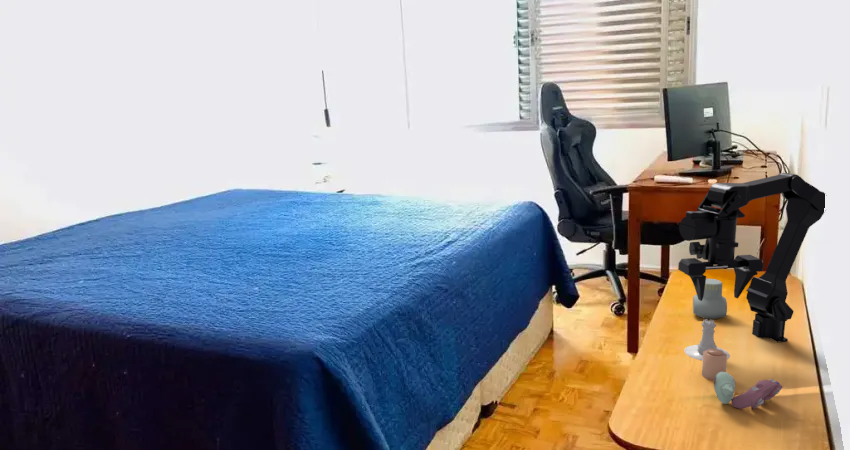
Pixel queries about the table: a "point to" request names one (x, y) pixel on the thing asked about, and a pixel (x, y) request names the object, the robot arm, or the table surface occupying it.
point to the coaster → (695, 354)
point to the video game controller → (757, 394)
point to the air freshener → (711, 301)
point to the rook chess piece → (707, 336)
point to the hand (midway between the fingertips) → (718, 299)
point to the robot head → (724, 387)
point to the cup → (713, 363)
